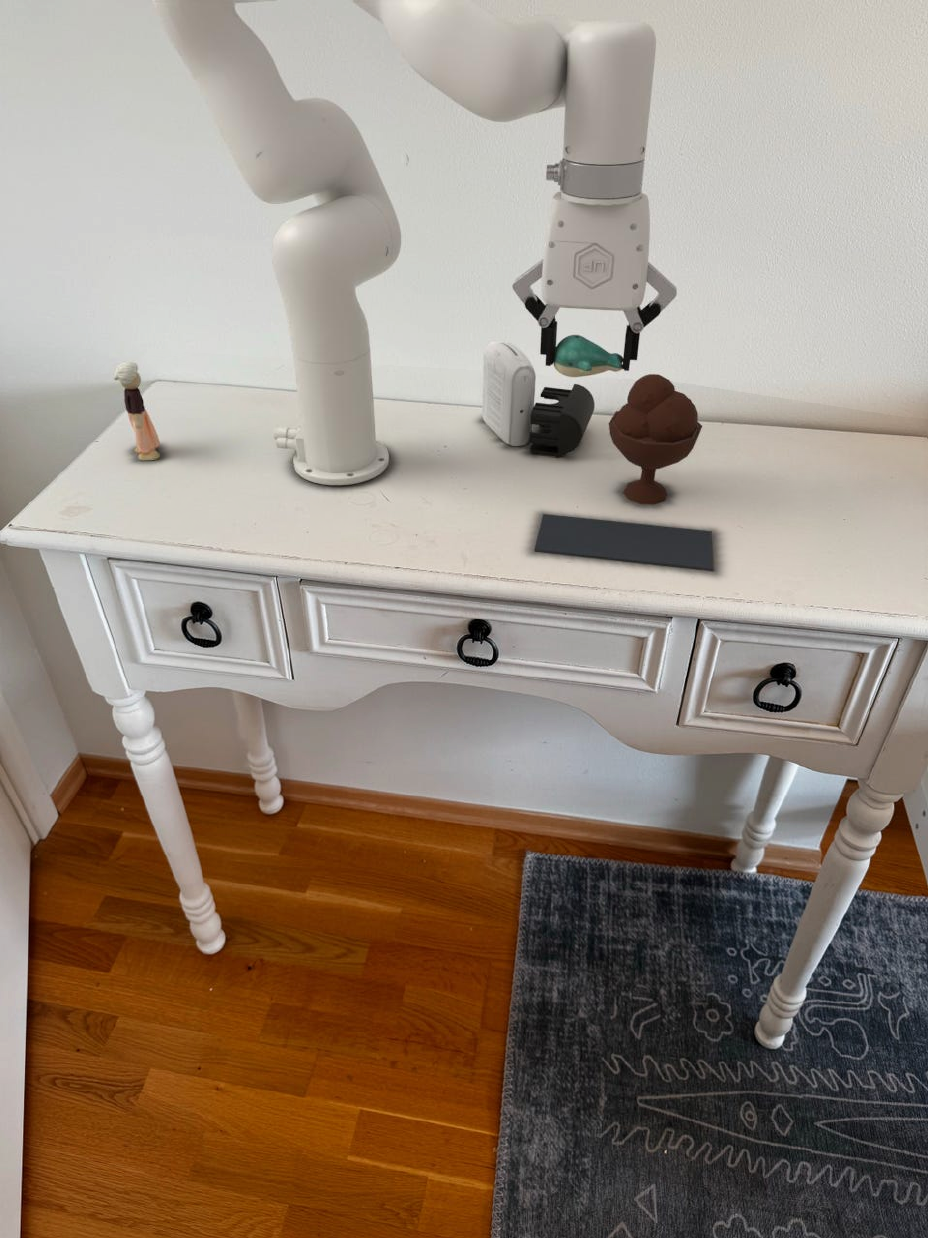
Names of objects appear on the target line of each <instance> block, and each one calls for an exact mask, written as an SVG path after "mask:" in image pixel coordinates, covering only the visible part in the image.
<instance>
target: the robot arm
mask: <svg viewBox="0 0 928 1238" xmlns="http://www.w3.org/2000/svg"><path fill="white" fill-rule="evenodd" d="M272 1H273V2H275V1H276V0H151V2H152V4H153V7H154V10H155V12H156V15H157V17H158V19H159V22H160V24H161V27H162V29H163V30H164V32H165V34H166V35H167V37H168V39H169V40H170V43H171V44H172V46H173V48H174V49H175V51H176V52H177V54H178V56H179V57H180V59H181V60H182V62H183V63H184V65H185V67H186V68H187V70H188V72H189V73H190V75H191V77H192V78H193V80H194V81H195V83H196V85H197V88H198V89H199V91H200V93H201V95H202V97H203V99H204V101H205V103H206V105H207V108H208V110H209V112H210V114H211V116H212V118H213V120H214V122H215V124H216V126H217V128H218V130H219V132H220V135H221V136H222V138H223V140H224V143H225V144H226V147H227V148H228V150H229V152H230V154H231V157H232V159H233V161H234V162H235V165H236V167H237V168H238V170H239V172H240V174H241V176H242V178H243V179H244V182H245V184H246V185H247V186H248V188H249V190H250V191H251V192H252V193H253V195H254V196H255V197H256V198H258V199H259V200H260V201H262V202H263V203H267V204H272V205H281V204H288V203H292V202H294V201H298V200H302V199H304V198H307V197H310V196H313V197H314V198H315V199H314V200H315V201H316V202H317V204H318V205H315V206H313V207H310V208H306V209H305V210H302V211H300V212H298V213H296V214H294V215H292V217H290V218H288V219H287V220H286V221H285V222H284V223H283V224H282V225H281V226H280V227H279V228H278V230H277V231H276V234H275V236H274V238H273V243H272V246H271V262H272V267H273V271H274V275H275V279H276V280H277V286H278V287H279V291H280V294H281V297H282V300H283V305H284V309H285V313H286V319H287V324H288V325H287V326H288V332H289V339H290V348H291V354H292V361H293V369H294V380H295V387H296V395H297V404H298V412H299V421H300V425H299V426H298V427H297V428H291V427H289V426H278V425H277V426H275V428H274V431H273V438H274V440H275V442H276V448H278V449H284V450H288V449H291V450H293V451H294V452H295V453H294V455H293V458H292V462H293V468H294V469H293V470H294V471H295V472H296V474H297V475H299V477H301V478H303V479H304V480H306V481H309V482H312V483H314V484H319V485H324V486H325V485H326V486H350V485H354V484H355V485H356V484H360V483H363V482H367V481H369V480H372V479H374V478H376V477H378V476H379V475H381V474H382V473H383V472H384V471H385V470H386V469H387V468H388V466H389V463H390V457H389V456H390V453H389V451H388V448H386V446H385V445H384V444H383V443H381V442H380V441H377V435H376V419H375V403H374V401H375V400H374V390H373V389H374V388H373V387H374V386H373V373H372V372H373V371H372V356H371V341H370V331H369V325H368V321H367V318H366V315H365V312H364V310H363V309H362V307H361V304H360V302H359V300H358V297H357V294H356V293H357V292H356V288H357V287H359V286H360V285H362V284H364V283H366V282H368V281H370V280H372V279H374V278H376V277H378V276H380V275H381V274H383V273H385V272H386V271H388V270H389V269H390V268H391V267H393V265H394V264H395V263H396V261H397V259H398V258H399V255H400V252H401V248H402V231H401V226H400V223H399V218H398V215H397V213H396V210H395V208H394V205H393V203H392V201H391V198H390V196H389V193H388V191H387V189H386V187H385V185H384V183H383V181H382V178H381V176H380V174H379V172H378V168H377V167H376V164H375V162H374V159H373V158H372V155H371V153H370V151H369V148H368V147H367V144H366V142H365V140H364V138H363V136H362V134H361V131H360V130H359V127H358V126H357V125H356V124H355V122H354V120H353V119H352V118H351V117H350V115H349V114H348V113H347V112H346V111H345V110H344V109H343V108H341V106H339V105H337V104H336V103H334V102H333V101H330V100H328V99H325V98H320V97H307V98H303V99H302V98H301V99H297V100H295V99H294V98H293V96H292V95H291V93H290V92H289V90H288V88H287V86H286V84H285V83H284V81H283V79H282V77H281V74H280V72H279V70H278V67H277V65H276V63H275V60H274V58H273V56H272V55H271V53H270V52H269V50H268V48H267V46H266V45H265V43H264V42H263V41H262V40H261V39H260V37H259V36H258V35H257V34H256V32H254V31H253V29H252V28H251V27H250V26H249V25H248V24H247V23H246V22H245V21H244V19H242V18H241V16H239V15H240V14H238V13H237V11H236V8H235V7H236V4H248V3H249V4H250V3H259V2H261V3H262V2H272ZM350 1H351V2H352V3H353V4H355V5H357V7H359V8H360V9H361V10H363V11H364V12H365V13H367V14H368V15H369V16H371V17H373V18H374V19H375V20H377V22H379V23H380V24H382V25H383V26H384V27H385V30H386V31H387V34H388V36H389V38H390V40H391V41H392V43H393V45H394V46H395V47H396V49H397V50H398V52H399V53H400V55H401V56H402V58H403V60H404V61H405V62H406V63H407V65H409V67H410V68H411V69H412V70H413V71H414V72H415V73H416V74H418V75H419V76H420V78H422V79H423V80H424V81H426V82H427V83H428V84H429V85H431V86H432V87H434V88H435V89H437V90H438V91H440V92H441V93H442V94H443V95H444V96H446V97H448V98H449V99H450V100H452V101H454V102H455V103H456V104H457V105H459V106H461V107H462V108H464V109H465V110H467V111H468V112H469V113H471V114H474V115H476V116H477V117H480V118H482V119H484V120H488V121H490V122H496V123H509V122H513V121H517V120H520V119H523V118H526V117H529V116H531V115H535V114H539V113H542V112H547V111H550V110H553V109H559V108H564V123H563V124H564V126H563V145H562V146H563V148H562V159H561V160H560V161H559V162H558V163H556V162H555V164H547V165H546V173H545V180H546V181H551V182H552V181H553V182H554V183H557V186H560V187H559V191H558V192H556V193H555V194H553V195H552V198H551V201H550V205H549V211H548V217H547V221H546V228H545V238H544V248H543V256H542V257H543V258H542V259H541V260H539V261H538V262H537V263H535V264H534V265H533V266H531V267H529V269H527V270H526V271H525V272H523V273H522V274H521V275H519V276H518V277H516V278H515V279H514V282H513V283H512V290H513V292H514V293H515V294H516V296H517V298H519V300H520V301H521V302H522V304H523V305H524V307H525V309H526V310H527V311H528V313H529V314H531V315H532V317H533V318H534V319H535V320H536V321H537V324H538V326H539V327H540V347H539V349H540V351H539V354H540V356H541V355H542V356H545V367H551V366H552V365H553V366H554V364H553V359H554V351H555V348H556V346H557V337H558V336H557V334H558V321H557V320H556V315H557V313H558V311H559V310H560V309H561V308H564V309H578V310H599V311H620V312H621V311H622V312H623V314H624V315H625V319H626V321H627V322H628V324H627V325H626V328H625V329H626V330H625V335H624V336H625V337H624V346H623V356H622V357H623V362H622V365H623V366H622V370H623V371H625V372H629V371H630V365H631V361H638V357H639V347H640V346H639V345H640V338H641V337H640V336H641V333H642V332H643V330H644V328H646V327H647V326H648V325H649V324H650V323H652V322H653V321H654V320H655V319H656V318H658V317H659V316H660V314H661V313H662V311H664V309H666V308H667V307H668V306H669V304H670V303H672V302H673V300H674V299H675V298H676V297H677V296H678V295H677V294H678V289H677V287H676V285H674V283H672V282H671V281H670V280H669V279H668V278H667V277H666V276H665V275H664V274H663V273H661V272H660V271H659V270H658V269H657V268H656V267H655V266H654V265H653V264H652V263H651V262H650V261H649V255H650V235H651V234H650V233H651V231H650V230H651V218H650V214H651V213H650V202H649V197H648V195H647V194H645V193H643V192H642V191H643V179H644V171H645V170H644V169H645V161H646V149H647V139H648V131H649V130H648V128H649V121H650V110H651V101H652V91H653V82H654V71H655V61H656V51H657V38H656V33H655V30H654V29H653V27H652V26H651V25H650V24H649V23H646V22H645V21H640V20H635V19H634V20H633V19H598V20H596V19H595V20H588V21H583V20H578V19H573V18H570V17H569V18H568V17H565V16H564V17H563V16H559V15H552V14H535V15H525V16H518V17H511V18H502V17H500V16H498V15H497V14H495V13H493V12H492V11H490V10H489V9H487V8H486V7H484V6H483V5H482V4H480V3H478V2H477V1H476V0H350ZM540 279H541V299H542V300H543V301H542V300H541V299H540V297H539V296H538V295H536V294H535V293H534V290H533V289H532V288H531V286H532V285H534V284H535V283H536V282H538V281H539V280H540ZM647 284H649V286H651V287H652V288H653V289H654V290H655V291H656V292H657V293H658V294H657V295H656V297H654V299H653V300H651V301H650V302H649V303H647V304H646V305H645V306H644V307H643V308H641V305H642V303H643V301H644V298H645V294H646V289H647V288H646V287H647Z"/></svg>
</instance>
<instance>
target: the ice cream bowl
mask: <svg viewBox="0 0 928 1238" xmlns="http://www.w3.org/2000/svg"><path fill="white" fill-rule="evenodd" d="M675 388H676V387H675V385H674V384H673V383H672V381H670V379H668V378H667V377H664V376H663V375H660V374H658V373H657V374H654V373H651V374H646V375H643V376H641V377H640V378H638V379H637V380H635V381H634V383H633V385H632V386H631V388H630V389H629V391H628V393H627V394H628V395H627V398H626V399H627V402H626V403H625V404H624V405H622V406H621V407H620V409H619V410H617V411H615V412H614V413H613V415H612V417H611V418H610V420H609V422H608V430H609V431H608V433H609V436H610V439H611V441H612V444H613V446H615V448H617V450H618V452H620V454H621V455H622V456H623V457H624V458H625V459H626V460H627V462H629V463H631V464H633V465H634V466H637V467H640V468H641V473H640V478H639V479H636V480H633V481H630V482H627V484H626V486H625V488H624V490H623V494H624V496H625V497H626V498H627V500H629V501H632V502H635V503H637V504H640V505H656V504H660V503H662V502H665V501H666V499H667V496H668V490H667V489H666V488H665V486H664V485H663V484H662V483H660V482H658V481H657V480H655V479H656V471H657V470H660V469H664V468H667V467H670V466H672V465H675V464H678V463H679V462H681V461H682V460H684V459H686V458H688V456H689V455H690V454H691V453H692V451H693V450H694V447H695V445H696V443H697V441H698V438H699V435H700V433H701V431H702V428H703V425H702V424H701V423H700V422H699V418H698V417H699V414H698V410H697V407H696V405H695V404H694V403H693V401H692V399H691V398H689V397H688V396H687V395H686V394H685V393H683V392H680V391H677V390H676V389H675Z"/></svg>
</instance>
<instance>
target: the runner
mask: <svg viewBox="0 0 928 1238" xmlns="http://www.w3.org/2000/svg"><path fill="white" fill-rule="evenodd" d="M539 525H540V526H539V530H538V533H537V537H536V542H535V546H534V549H533V550H534V552H537V553H546V554H553V555H554V554H556V555H565V556H573V557H581V558H592V559H602V560H608V561H609V560H610V561H619V562H629V563H635V564H636V563H638V564H645V565H654V566H664V567H673V568H684V569H693V570H701V571H711V572H714V553H713V552H714V548H713V531H712V530H704V529H703V530H702V529H693V528H685V527H684V528H683V527H674V526H664V525H655V524H645V523H636V522H635V523H634V522H625V521H615V520H606V519H597V518H587V517H586V518H585V517H577V516H565V515H557V514H549V513H548V514H547V513H543V514H542V517H541V521H540V524H539Z"/></svg>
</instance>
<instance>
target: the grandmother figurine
mask: <svg viewBox="0 0 928 1238" xmlns="http://www.w3.org/2000/svg"><path fill="white" fill-rule="evenodd" d="M138 371H139V366H138V364H137V363H135V362H134V361H123V362H121V363H119V364H118V365H117V367H116V368H115V370H114V372H113V376H112V378H113V380H114V381H119V382H120V384H121V386H122V387H123V388H124V390H123V395H124V399H123V400H124V401H123V402H124V405H125V410H126V412H127V416H128V419H129V422H130V425H131V427H132V428H133V430H134V434H135V443H136V447H135V450H134V452H135V453H136V454H137V455H138V456H137V457H138V458H137V459H138V460H139V461H155V460H158V459H159V458H160V453H159V452H158V451H157V448H158V447H160V445H161V441H160V438H159V436H158V433H157V430H156V429H155V425H154V424H153V422H152V421H153V420H152V419H151V417H150V415H149V413H148V411H147V410H146V408H145V407H146V406H145V402H144V398H143V396H142V394H141V390H140V389H139V387H140V385H141V383H142V377H141V375H140V374H139V372H138Z"/></svg>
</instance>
